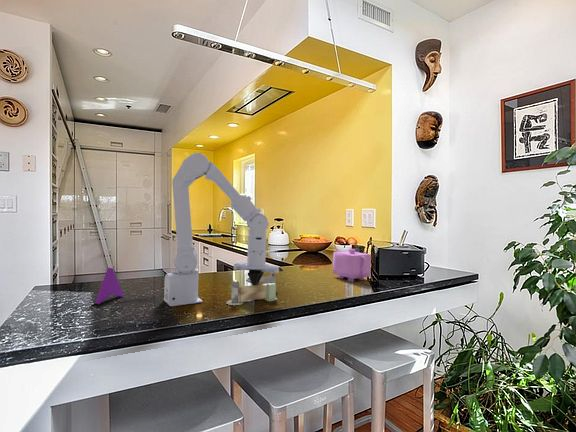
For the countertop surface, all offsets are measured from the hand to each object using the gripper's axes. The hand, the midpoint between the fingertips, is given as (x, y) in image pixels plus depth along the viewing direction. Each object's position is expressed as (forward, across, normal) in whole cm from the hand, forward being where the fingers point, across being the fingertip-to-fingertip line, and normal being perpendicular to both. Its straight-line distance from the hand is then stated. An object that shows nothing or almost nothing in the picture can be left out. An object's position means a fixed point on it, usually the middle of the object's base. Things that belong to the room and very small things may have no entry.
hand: (255, 293), depth 106 cm
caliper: (+2, -4, +17) cm, 18 cm away
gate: (+1, +1, -2) cm, 3 cm away
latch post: (+1, +5, 0) cm, 6 cm away
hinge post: (+1, -4, -8) cm, 9 cm away
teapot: (+1, +26, +44) cm, 51 cm away
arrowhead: (+2, -40, -17) cm, 43 cm away
